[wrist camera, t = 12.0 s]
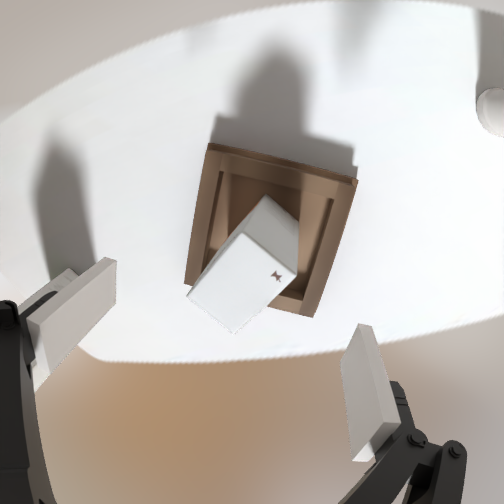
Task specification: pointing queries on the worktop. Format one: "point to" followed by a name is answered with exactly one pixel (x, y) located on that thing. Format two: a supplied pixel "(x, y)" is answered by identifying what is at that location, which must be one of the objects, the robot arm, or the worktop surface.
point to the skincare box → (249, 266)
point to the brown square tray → (289, 198)
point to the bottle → (492, 111)
